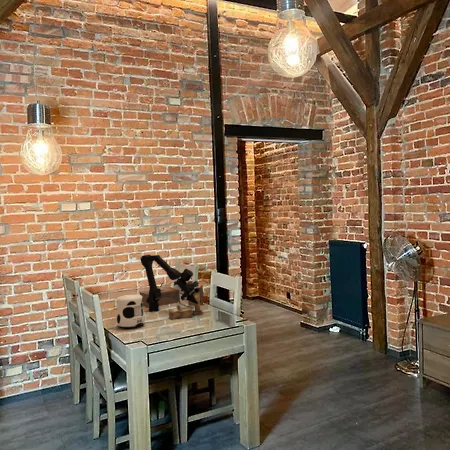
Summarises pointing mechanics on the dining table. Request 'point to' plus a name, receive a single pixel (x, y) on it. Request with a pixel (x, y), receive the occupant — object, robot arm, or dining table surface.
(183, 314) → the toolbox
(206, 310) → the dining table surface
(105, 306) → the dining table surface
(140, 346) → the dining table surface
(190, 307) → the lid
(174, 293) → the tissue box cover
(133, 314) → the milk container
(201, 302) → the wooden block
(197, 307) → the key peg
